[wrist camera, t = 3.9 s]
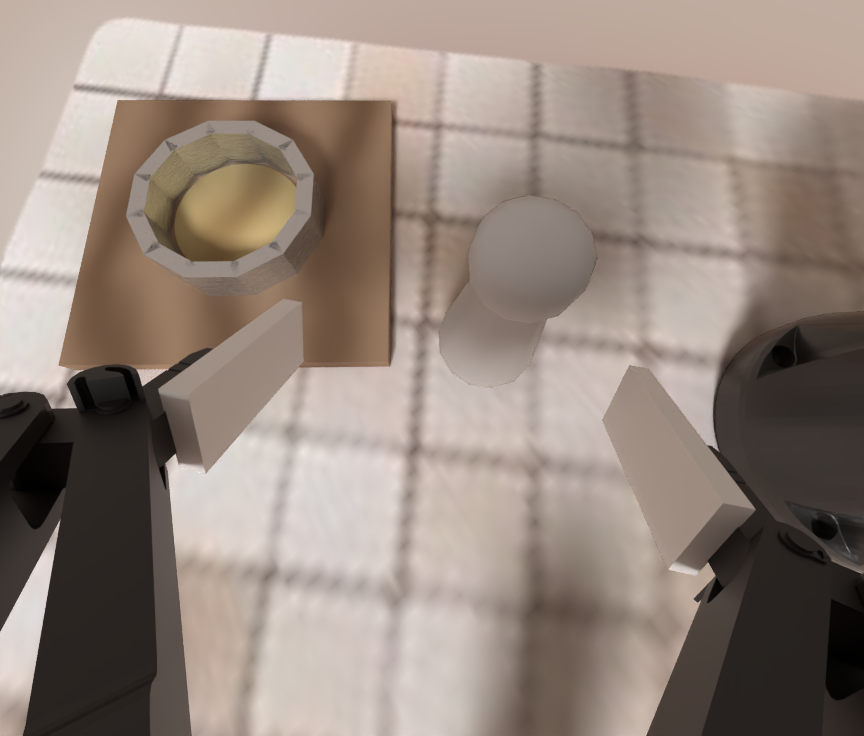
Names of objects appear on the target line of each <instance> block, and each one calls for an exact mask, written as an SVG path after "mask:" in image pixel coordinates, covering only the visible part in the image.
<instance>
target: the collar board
mask: <svg viewBox="0 0 864 736" xmlns="http://www.w3.org/2000/svg"><path fill="white" fill-rule="evenodd" d="M392 128H393V114H392V104H391V101H222V100H118V101H117V106H116V110H115V115H114V119H113V124H112V128H111V133H110V137H109V142H108V146H107V151H106V155H105V160H104V164H103V169H102V173H101V178H100V182H99V187H98V191H97V196H96V200H95V205H94V209H93V213H92V218H91V222H90V227H89V231H88V236H87V240H86V245H85V249H84V254H83V258H82V263H81V267H80V272H79V276H78V281H77V285H76V290H75V294H74V299H73V303H72V308H71V312H70V317H69V321H68V326H67V330H66V335H65V339H64V343H63V348H62V352H61V357H60V361H59V366H63V367H67V368H71V369H75V370H87V369H90V368H93V367H98V366H103V365H113V364H120V365H128V366H131V367H133V368H135V369H169V368H170V367H172V366H173V365H175V364H176V363H177V364H178V363H179V361H181V360H182V359H184V358H185V357H186V356H188V355H189V354H191V353H194V352H197V351H199V350H202V349H205V348H212V349H214V348H216V347H217V346H218V345H220V344H221V343H223V342H224V341H225V340H227V339H228V338H229V337H231V336H232V335H234V334H235V333H236V332H238V331H239V330H241V329H242V328H243V327H245V326H246V325H247V324H249V323H250V322H252V321H253V320H254V319H256V318H257V317H259V316H260V315H261V314H263V313H264V312H265V311H267V310H268V309H270V308H271V307H272V306H274V305H275V304H277V303H278V302H279V301H281V300H282V299H288V300H293V301H298V302H302V322H303V357H304V361H303V363H302V364H301V365H300V366H299V367H375V366H390V310H391V219H392Z"/></svg>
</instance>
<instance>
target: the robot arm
mask: <svg viewBox="0 0 864 736" xmlns="http://www.w3.org/2000/svg"><path fill="white" fill-rule="evenodd" d="M303 361H304V357H303V322H302V302H298V301H293V300H288V299H282V300H281V301H279V302H278V303H277V304H275V305H274V306H272V307H271V308H270V309H268V310H267V311H265V312H264V313H263V314H261V315H260V316H259V317H257V318H256V319H254V320H253V321H252V322H250V323H249V324H247V325H246V326H245V327H243V328H242V329H241V330H239V331H238V332H236V333H235V334H234V335H232V336H231V337H229V338H228V339H227V340H225V341H224V342H223V343H221V344H220V345H218V346H217V347H216V348H214V349H212V348H205V349H202V350H199V351H197V352H194V353H191V354H189V355H188V356H186V357H185V358H184V359H182V360H181V361H179V363H178V364H177V363H176V364H175V365H173V366H172V367H170V368H169V370H168V371H167V370H166V371H164V372H163V373H162V374H160V375H159V376H157V377H156V378H154V379H153V380H151V381H150V382H148V383H147V384H145V385H144V386H142V384H141V381H140V377H139V374H138V372H137V370H136V369H135V368H133V367H131V366H128V365H120V364H113V365H103V366H98V367H93V368H90V369H87V370H84V371H82V372H79V373H78V374H76V375H75V376H73V377H72V378H71V379H70V380H69V382H68V383H67V386H68V388H69V390H70V393H71V395H72V397H73V400H74V402H75V404H76V407H77V408H67V409H51V407H50V405H49V402H48V400H47V399H46V397H45V396H44V395H43V394H40V393H36V392H17V393H8V394H3V395H2V396H1V395H0V631H1V629H2V627H3V625H4V624H5V622H6V620H7V618H8V616H9V614H10V612H11V610H12V609H13V607H14V605H15V603H16V601H17V599H18V597H19V596H20V594H21V592H22V590H23V588H24V586H25V584H26V582H27V581H28V579H29V577H30V575H31V573H32V571H33V569H34V567H35V566H36V564H37V562H38V560H39V558H40V556H41V554H42V552H43V551H44V549H45V547H46V545H47V543H48V541H49V539H50V537H51V536H52V534H53V532H54V530H55V528H56V526H57V524H58V522H59V521H60V526H59V531H58V537H57V543H56V549H55V555H54V561H53V567H52V573H51V579H50V584H49V590H48V596H47V602H46V608H45V614H44V620H43V626H42V631H41V637H40V643H39V649H38V655H37V661H36V667H35V673H34V679H33V684H32V690H31V696H30V702H29V708H28V714H27V720H26V725H25V729H24V733H23V736H192V734H191V725H190V714H189V703H188V691H187V680H186V669H185V658H184V647H183V636H182V625H181V614H180V603H179V591H178V580H177V569H176V558H175V547H174V536H173V525H172V514H171V503H170V491H169V480H168V471H167V467H166V464H165V463H166V462H167V461H168V460H169V459H170V458H171V457H172V456H173V455H174V454H175V453H176V456H177V460H178V464H179V467H180V469H185V470H190V471H195V472H200V473H205V474H206V473H207V472H208V471H209V469H210V468H211V467H212V466H213V465H214V464H215V463H216V461H217V460H218V459H219V458H220V457H221V456H222V454H223V453H224V452H225V451H226V450H227V449H228V448H229V446H230V445H231V444H232V443H233V442H234V441H235V440H236V438H237V437H238V436H239V435H240V434H241V433H242V432H243V430H244V429H245V428H246V427H247V426H248V425H249V423H250V422H251V421H252V420H253V419H254V418H255V417H256V415H257V414H258V413H259V412H260V411H261V410H262V409H263V407H264V406H265V405H266V404H267V403H268V402H269V401H270V399H271V398H272V397H273V396H274V395H275V394H276V392H277V391H278V390H279V389H280V388H281V387H282V386H283V384H284V383H285V382H286V381H287V380H288V379H289V378H290V376H291V375H292V374H293V373H294V372H295V371H296V370H297V368H298V367H299V366H300V365H301V364H302V363H303ZM602 421H603V423H604V426H605V428H606V430H607V432H608V435H609V437H610V439H611V441H612V444H613V446H614V448H615V451H616V453H617V455H618V457H619V460H620V462H621V464H622V467H623V469H624V471H625V473H626V476H627V478H628V480H629V482H630V485H631V487H632V489H633V492H634V494H635V496H636V498H637V501H638V503H639V505H640V507H641V510H642V512H643V514H644V517H645V519H646V521H647V523H648V526H649V528H650V530H651V532H652V535H653V537H654V539H655V542H656V544H657V546H658V548H659V551H660V553H661V555H662V557H663V560H664V562H665V564H666V567H667V569H668V570H672V571H677V572H681V573H686V574H691V575H697V574H698V573H699V572H700V570H701V569H702V568H703V567H704V566H705V565H706V564H707V563H708V562H709V564H710V566H711V568H712V570H713V572H714V573H715V575H716V576H715V577H714V578H713V579H712V580H711V581H710V582H709V583H708V584H707V586H706V587H705V588H704V589H703V590H702V591H701V592H700V593H699V594H698V595H697V596H696V597H695V598H694V600H695V601H697V602H699V601H700V600H701V599H702V600H701V603H700V605H699V608H698V610H697V612H696V615H695V617H694V620H693V622H692V625H691V627H690V630H689V632H688V635H687V637H686V640H685V642H684V644H683V647H682V649H681V652H680V654H679V657H678V659H677V662H676V664H675V667H674V669H673V671H672V674H671V676H670V679H669V681H668V684H667V686H666V689H665V691H664V694H663V696H662V698H661V701H660V703H659V706H658V708H657V711H656V713H655V716H654V718H653V721H652V723H651V726H650V728H649V730H648V733H647V735H646V736H864V311H858V312H844V313H831V314H823V315H818V316H813V317H809V318H805V319H802V320H799V321H796V322H793V323H790V324H788V325H785V326H782V327H779V328H777V329H774V330H771V331H769V332H766V333H764V334H762V335H760V336H759V337H757V338H755V339H754V340H752V341H751V342H749V343H748V344H747V345H746V346H745V347H743V348H742V349H741V350H740V351H739V352H738V354H737V355H736V356H735V357H734V358H733V360H732V361H731V363H730V364H729V366H728V368H727V369H726V371H725V373H724V376H723V378H722V380H721V383H720V386H719V390H718V394H717V400H716V408H715V425H716V434H717V440H718V445H719V449H720V453H719V452H718V451H717V450H716V449H715V448H713V447H712V446H708V445H706V443H705V442H704V441H703V439H702V438H701V437H700V435H699V434H698V433H697V432H696V430H695V429H694V428H693V426H692V425H691V424H690V422H689V421H688V420H687V418H686V417H685V416H684V414H683V413H682V412H681V410H680V409H679V408H678V407H677V405H676V404H675V403H674V401H673V400H672V399H671V397H670V396H669V395H668V393H667V392H666V391H665V389H664V388H663V387H662V386H661V384H660V383H659V382H658V380H657V379H656V378H655V376H654V375H653V374H652V372H651V371H650V370H649V369H646V368H641V367H636V366H631V365H629V367H628V369H627V371H626V373H625V375H624V377H623V379H622V381H621V383H620V385H619V387H618V389H617V391H616V393H615V395H614V397H613V399H612V401H611V403H610V405H609V407H608V409H607V411H606V413H605V415H604V417H603V419H602ZM60 519H61V520H60ZM856 571H858V572H856ZM859 572H861V573H862V574H861V573H859Z"/></svg>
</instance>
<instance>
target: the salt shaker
mask: <svg viewBox="0 0 864 736" xmlns="http://www.w3.org/2000/svg"><path fill="white" fill-rule="evenodd" d="M596 260H597V253H596V248H595V243H594V238H593V233H592V232H591V231H590V229H589V228H588V226H587V225H586V224H585V222H584V221H583V219H582V218H581V217H580V215H579V214H578V213H577V212H576V211H574V210H572V209H571V208H569V207H567V206H565V205H564V204H562V203H560V202H558V201H557V200H555V199H550V198H544V197H538V196H531V195H526V196H522V197H518V198H514V199H511V200H507V201H503V202H502V203H501V204H499V205H498V206H497V207H496V208H494V209H493V210H492V211H491V212H489V213H488V214H487V215H486V216H484V217H483V219H482V221H481V223H480V225H479V226H478V229H477V231H476V234H475V236H474V239H473V241H472V243H471V246H470V248H469V256H468V262H469V274H470V280H469V282H468V283H467V284H466V286H465V287H464V288H463V290H462V291H461V293H460V294H459V295H458V297H457V298H456V300H455V301H454V302H453V304H452V305H451V306H450V308H449V309H448V311H447V312H446V314H445V317H444V319H443V322H442V324H441V327H440V329H439V346H440V354H441V356H442V357H443V359H444V361H445V362H446V364H447V365H448V367H449V369H450V370H451V372H452V373H453V374H455V375H456V376H458V377H459V378H460V379H462V380H463V381H465V382H466V383H468V384H469V385H475V386H482V387H488V388H492V387H496V386H499V385H502V384H506V383H509V382H513V381H514V380H515V379H516V378H517V377H519V376H520V375H521V374H522V373H523V372H524V371H525V370H526V369H527V368H528V367H529V365H530V363H531V360H532V357H533V354H534V351H535V349H536V346H537V343H538V341H539V338H540V336H541V333H542V331H543V328H544V326H545V323H546V320H547V319H548V318H552V317H555V316H558V315H560V314H561V313H562V312H563V311H564V310H565V309H566V308H567V307H568V306H569V305H571V304H572V303H573V302H574V301H575V300H576V299H577V298H578V297H579V296H580V295H581V294H582V293H583V292H584V291H585V289H586V287H587V285H588V283H589V281H590V278H591V275H592V272H593V269H594V266H595V263H596Z"/></svg>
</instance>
